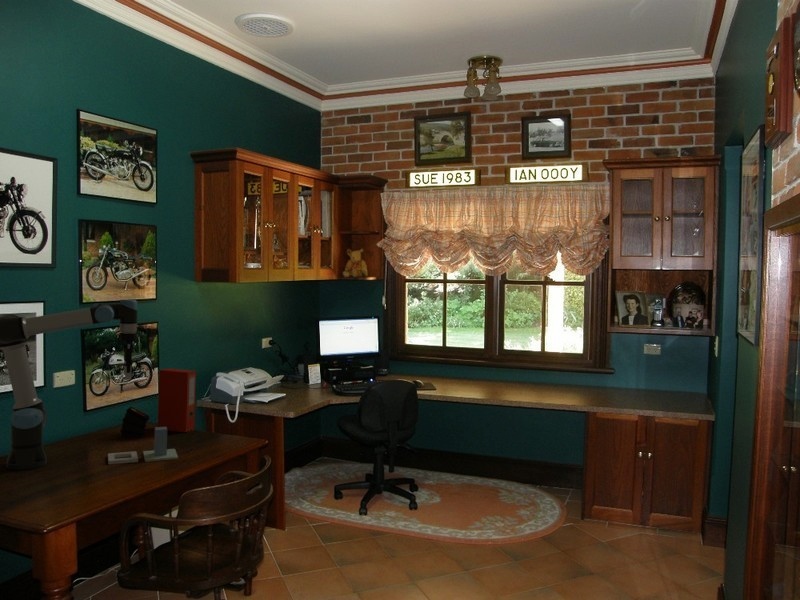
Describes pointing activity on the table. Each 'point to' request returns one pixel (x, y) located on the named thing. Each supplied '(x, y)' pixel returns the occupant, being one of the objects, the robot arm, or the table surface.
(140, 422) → the black slab
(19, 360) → the robot arm
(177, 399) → the file binder
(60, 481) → the table surface
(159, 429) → the slate block
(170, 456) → the pad
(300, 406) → the table surface
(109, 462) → the pocket collar
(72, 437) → the table surface
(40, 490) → the table surface
